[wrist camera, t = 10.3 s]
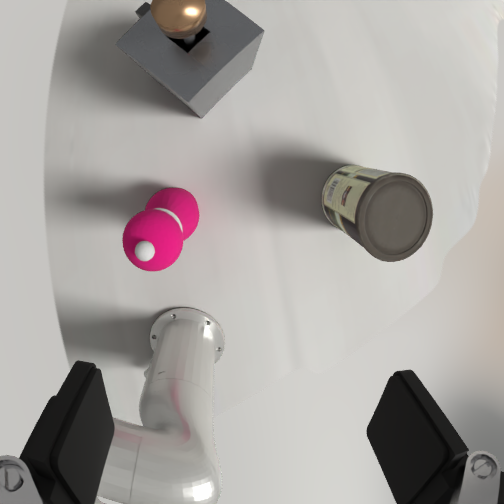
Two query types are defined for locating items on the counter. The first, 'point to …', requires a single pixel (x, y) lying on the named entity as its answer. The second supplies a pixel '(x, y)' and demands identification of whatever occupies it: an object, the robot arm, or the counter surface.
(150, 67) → the press
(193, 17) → the plunger
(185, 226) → the pepper mill
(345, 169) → the coffee can
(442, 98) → the counter surface
